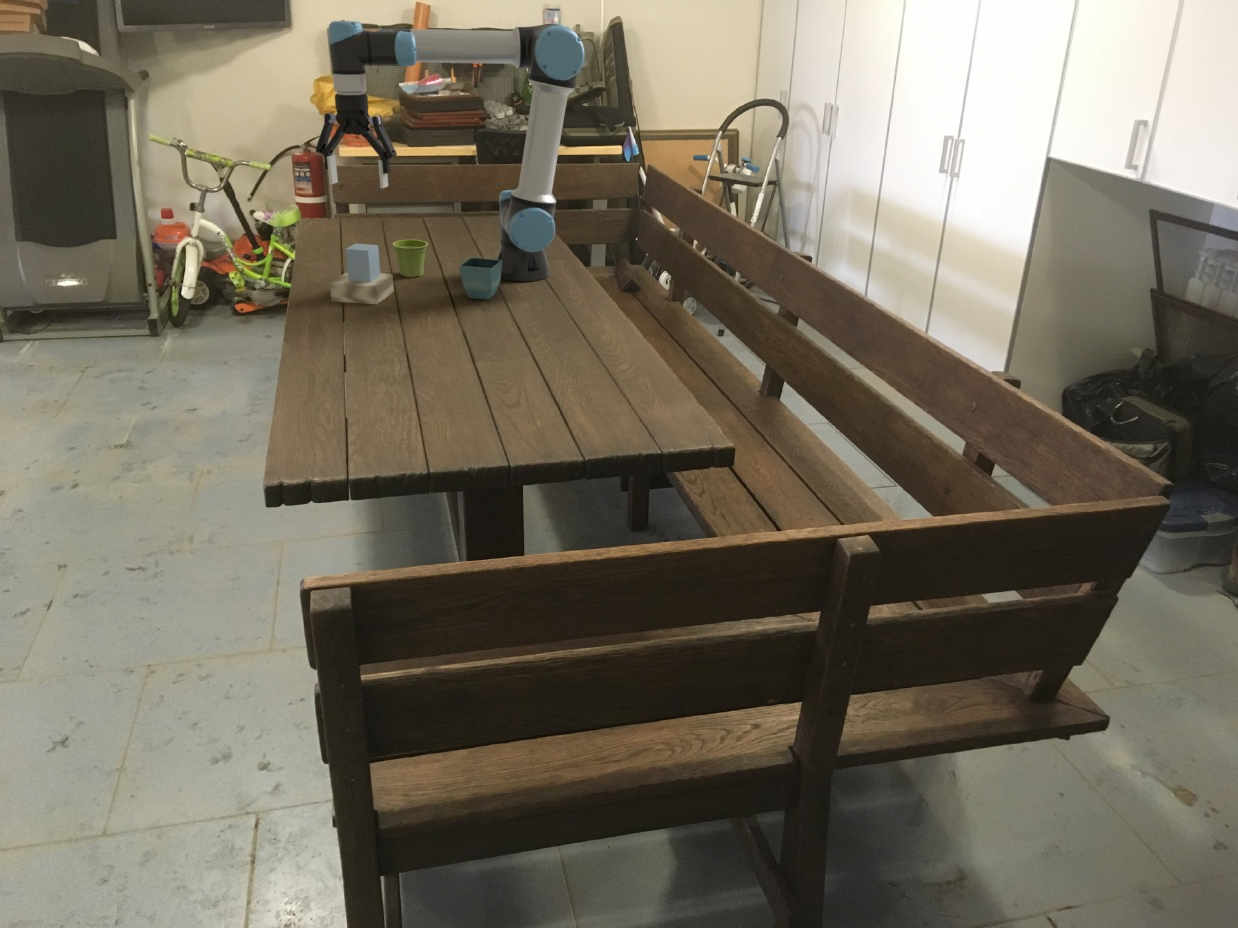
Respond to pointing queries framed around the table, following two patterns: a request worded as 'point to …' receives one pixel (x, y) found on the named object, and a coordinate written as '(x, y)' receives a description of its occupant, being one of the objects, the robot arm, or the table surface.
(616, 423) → the table surface
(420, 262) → the plant pot
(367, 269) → the slate blue block
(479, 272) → the flower pot
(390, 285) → the birch block
